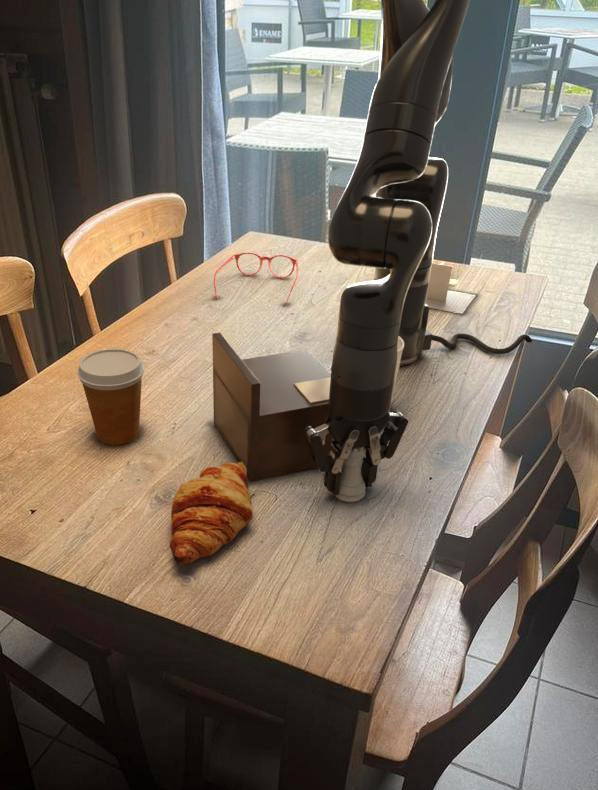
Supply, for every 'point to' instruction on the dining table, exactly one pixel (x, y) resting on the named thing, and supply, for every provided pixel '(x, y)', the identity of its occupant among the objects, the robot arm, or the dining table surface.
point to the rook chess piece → (352, 477)
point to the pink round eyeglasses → (260, 267)
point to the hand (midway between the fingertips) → (349, 487)
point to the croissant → (209, 511)
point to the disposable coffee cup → (113, 393)
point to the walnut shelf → (269, 407)
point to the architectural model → (445, 291)
